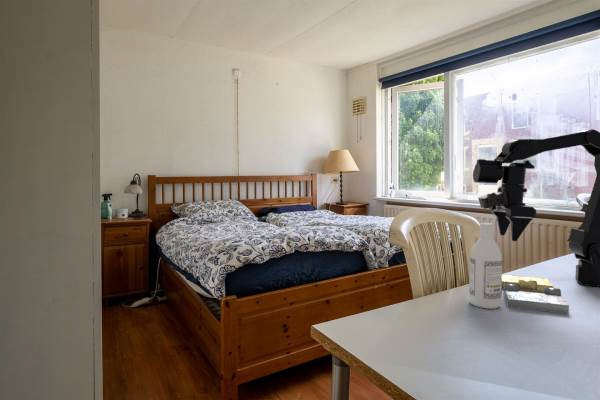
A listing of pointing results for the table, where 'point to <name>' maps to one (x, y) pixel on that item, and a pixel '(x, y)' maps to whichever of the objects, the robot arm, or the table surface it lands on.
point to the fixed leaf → (536, 299)
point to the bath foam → (485, 270)
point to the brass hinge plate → (527, 283)
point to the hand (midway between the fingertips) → (507, 238)
